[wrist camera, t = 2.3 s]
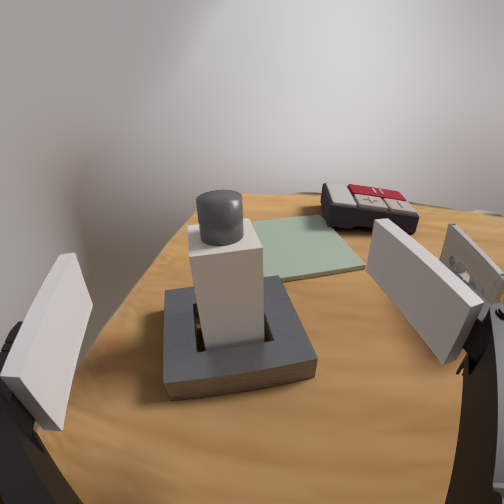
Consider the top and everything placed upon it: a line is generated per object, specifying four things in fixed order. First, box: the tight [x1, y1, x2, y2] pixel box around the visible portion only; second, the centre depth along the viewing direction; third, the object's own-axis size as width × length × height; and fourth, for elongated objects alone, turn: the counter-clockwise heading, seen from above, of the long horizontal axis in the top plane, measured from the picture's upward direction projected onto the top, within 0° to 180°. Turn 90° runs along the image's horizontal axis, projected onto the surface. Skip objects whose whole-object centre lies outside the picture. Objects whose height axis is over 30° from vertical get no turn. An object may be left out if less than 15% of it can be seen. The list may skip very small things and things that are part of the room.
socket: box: [163, 275, 318, 401], centre depth 28 cm, size 12×12×2 cm
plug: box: [188, 190, 264, 351], centre depth 26 cm, size 5×5×14 cm
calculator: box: [321, 182, 419, 233], centre depth 51 cm, size 11×4×15 cm
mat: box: [251, 214, 366, 282], centre depth 44 cm, size 16×16×1 cm
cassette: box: [439, 224, 504, 305], centre depth 29 cm, size 12×2×8 cm, turn 179°
